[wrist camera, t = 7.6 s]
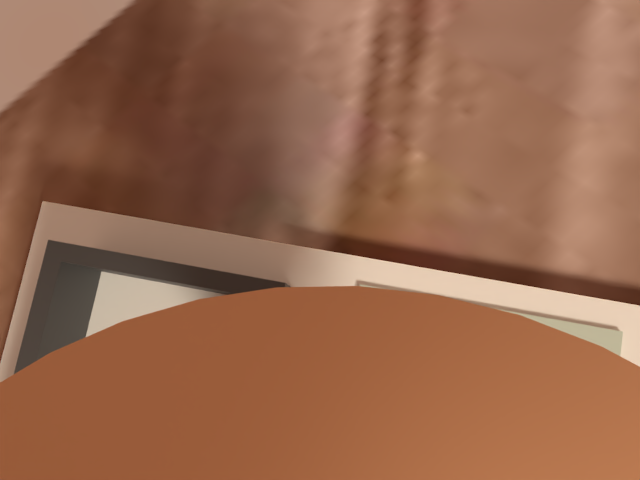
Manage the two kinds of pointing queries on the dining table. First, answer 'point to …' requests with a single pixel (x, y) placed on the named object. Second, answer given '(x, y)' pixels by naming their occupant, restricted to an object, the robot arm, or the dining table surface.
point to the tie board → (237, 282)
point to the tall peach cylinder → (324, 395)
